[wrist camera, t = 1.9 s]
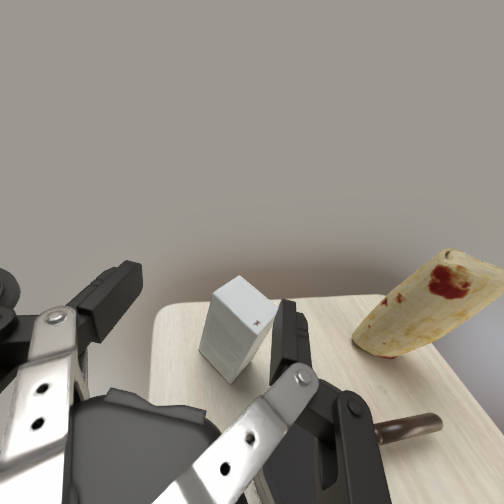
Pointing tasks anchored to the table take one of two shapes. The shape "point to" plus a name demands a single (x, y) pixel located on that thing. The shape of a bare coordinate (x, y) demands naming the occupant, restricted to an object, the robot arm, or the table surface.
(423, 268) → the food model
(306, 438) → the frying pan
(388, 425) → the pan handle
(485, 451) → the table surface
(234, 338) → the cosmetic box
